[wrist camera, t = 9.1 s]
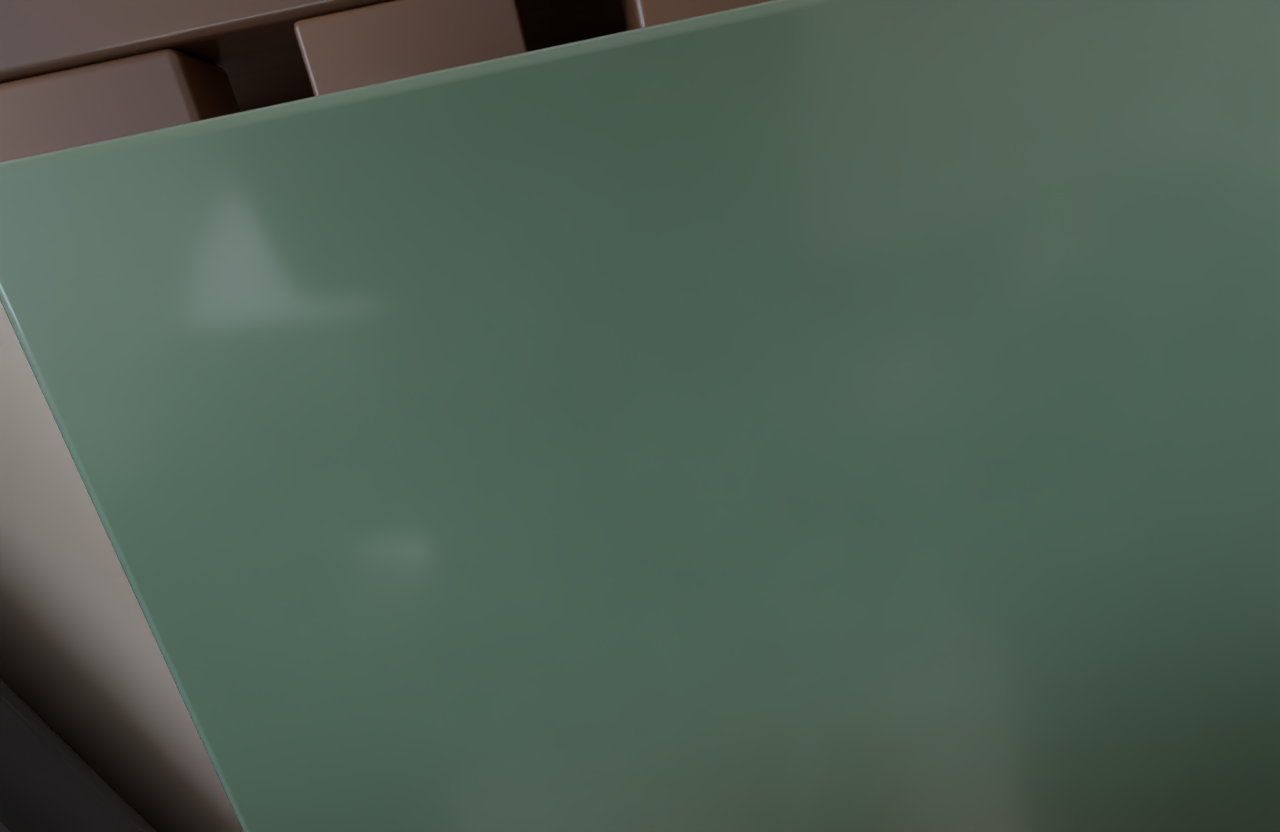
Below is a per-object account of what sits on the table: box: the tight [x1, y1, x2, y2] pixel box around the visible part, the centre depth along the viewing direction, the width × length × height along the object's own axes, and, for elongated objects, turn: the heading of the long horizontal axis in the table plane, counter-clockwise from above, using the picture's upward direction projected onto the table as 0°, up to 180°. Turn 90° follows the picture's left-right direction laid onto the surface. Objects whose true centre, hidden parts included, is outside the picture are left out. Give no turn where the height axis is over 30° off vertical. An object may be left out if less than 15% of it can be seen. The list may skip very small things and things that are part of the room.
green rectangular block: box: [0, 0, 1280, 832], centre depth 6 cm, size 11×5×4 cm, turn 12°
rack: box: [0, 0, 772, 162], centre depth 10 cm, size 10×16×5 cm, turn 12°
